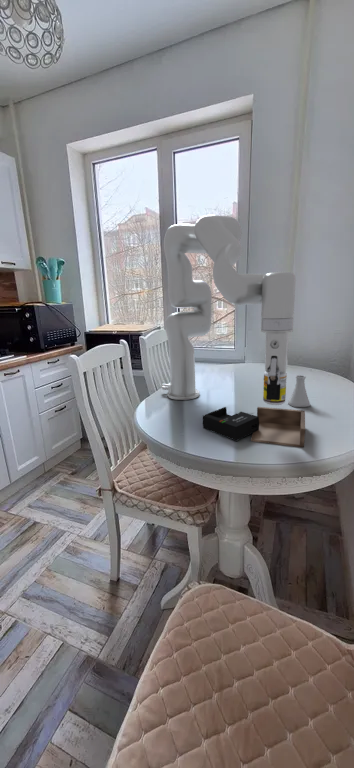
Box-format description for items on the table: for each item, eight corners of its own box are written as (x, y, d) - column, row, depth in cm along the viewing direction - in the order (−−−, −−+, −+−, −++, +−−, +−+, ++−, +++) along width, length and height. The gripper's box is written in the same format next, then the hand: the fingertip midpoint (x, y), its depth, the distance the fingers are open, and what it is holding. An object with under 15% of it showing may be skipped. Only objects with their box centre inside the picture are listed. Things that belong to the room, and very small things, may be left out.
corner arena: (250, 441, 84) (251, 423, 82) (257, 422, 96) (257, 406, 94) (303, 447, 79) (305, 429, 78) (303, 427, 91) (304, 410, 90)
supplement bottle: (260, 399, 86) (261, 362, 83) (281, 398, 86) (283, 361, 83) (266, 406, 81) (267, 366, 78) (288, 405, 81) (290, 365, 78)
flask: (306, 400, 112) (308, 373, 109) (313, 408, 105) (315, 378, 102) (285, 401, 113) (287, 373, 110) (290, 408, 106) (292, 379, 103)
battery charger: (259, 429, 89) (259, 416, 88) (236, 441, 83) (236, 427, 82) (225, 418, 99) (224, 406, 98) (202, 428, 93) (201, 415, 92)
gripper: (292, 329, 69) (287, 407, 74) (294, 321, 84) (290, 387, 89) (256, 329, 72) (255, 405, 77) (264, 322, 87) (262, 385, 92)
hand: (274, 394), depth 83 cm, fingers closed on supplement bottle, 5 cm apart
